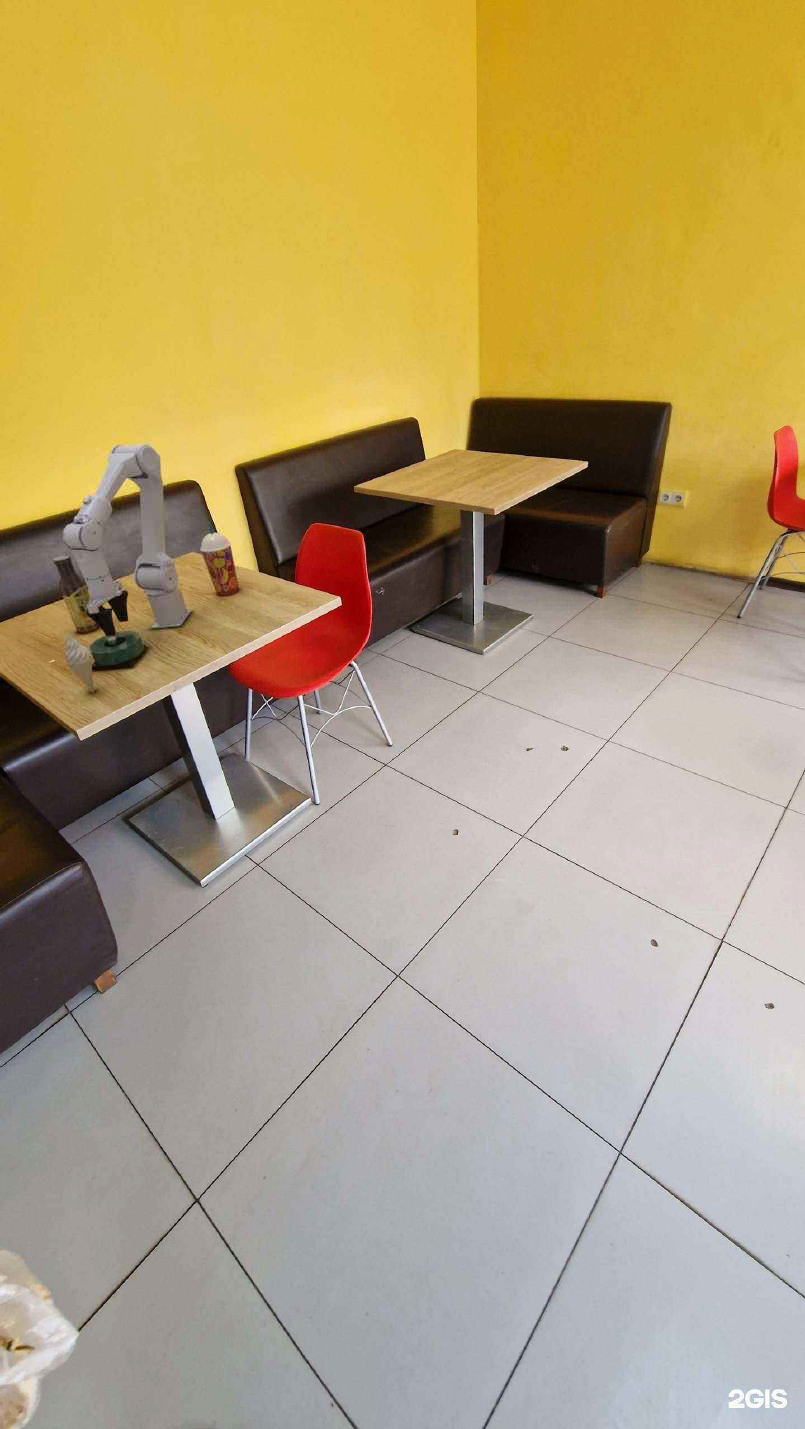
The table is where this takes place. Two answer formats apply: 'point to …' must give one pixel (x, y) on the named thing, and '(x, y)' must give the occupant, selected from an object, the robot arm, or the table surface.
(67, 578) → the sauce bottle
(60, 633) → the table surface
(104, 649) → the ring
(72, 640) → the ice cream cone
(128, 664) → the peg stand
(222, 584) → the smoothie
